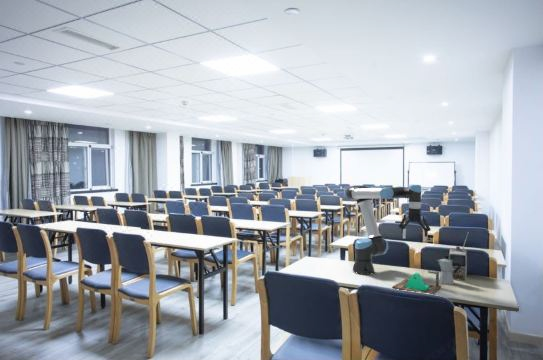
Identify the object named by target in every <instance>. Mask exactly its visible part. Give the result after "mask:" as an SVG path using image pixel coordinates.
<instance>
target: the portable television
mask: <svg viewBox="0 0 543 360" xmlns="http://www.w3.org/2000/svg"><path fill="white" fill-rule="evenodd" d="M468 235H469V231H468V232H467V234H466V238H465V240H464V243H463V247H462V248H461V247H460V246H458V245H457V246H456V247H455V248H453V247H452V248H450V249H449V254H448V259H450V260H453V261H456V262H458V263H459V264H460V266H461V267H460V268H459V269H458V271H457V272H456V274H455V273H454V272H455V270H456V269H457V268H458V265H457V266H453V270H452V272H451V273H452V275H453V280H456V279H459V280H458V281H464V280H465V281H467V276H468V275H467V274H468V271H467V270H468V256H467V254H468V253H467V250H466V249H465V248H464V247H465V245H466V241H467V237H468Z"/></svg>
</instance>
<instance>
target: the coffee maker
mask: <svg viewBox="0 0 543 360" xmlns="http://www.w3.org/2000/svg"><path fill="white" fill-rule="evenodd" d="M436 261H437V262H438V265H439V266H440V267H439V268H440V273H439V283H440V284H443V285H454V283H455V282H454V279H453V275H452V273H451V272H452V270H453V266H457V265H458V268H457V269H456V270H455V272H454V273H455V274H456V272H457V271H458V269H459V268H460V267H461V266H460V264H459V263H458V262H456V261H453V260H450V259H449V254H445V255H444V258H441V259H437V260H436Z"/></svg>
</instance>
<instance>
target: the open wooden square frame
mask: <svg viewBox="0 0 543 360" xmlns="http://www.w3.org/2000/svg"><path fill="white" fill-rule="evenodd" d="M439 272H440V271H431V270H430V271H429V270H428V271H427V273H428V274H433V275H435V284H433V283H427V282H423V283H424V284H425V285H429V289H428V290H426V291H423V290H420V291H419V290H414V289H412V288H408V287H406V283H407V282H408V281H409V279H408V278H405V279H404V280H401V281H400V282H398V283H396V284H394V285H392V286H391V289H393V288H395V289H394V290H397V289H400V290H399V291H402V290H407V291H414V292H421V293H429V294H431V295H433V294H435V292H437V291H439V290H440V289H441V285H440V284H439V283H440V282H439V279H440V273H439ZM407 291H406V292H407Z"/></svg>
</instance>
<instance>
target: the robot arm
mask: <svg viewBox="0 0 543 360" xmlns="http://www.w3.org/2000/svg"><path fill="white" fill-rule="evenodd" d="M345 197H346V198H347V200H349V201H351V202H356V204H357V206H359V207H360V211H361V215H362V219H363V223H364V226H365V230H366V233H367V237H366V238H365V237H364V238H360V239H359V238H358V239H357V240H356V241H355V243H354V245H355V246H354V249H355V250H354V252H355V253H354V255H355V257H354V259H355V260H354V263H353V266H352V272H353V271H354V272H357V273H362V274H361V275H372V274H371V273H373V274H375V267H374V265H373V257H376V256H382V255H385V254H386V253H387V252H388V250H389V242H388V241H387V240H386V239H385V238H384V237H383V235H382V234H380V231H379V227H378V224H377V220H376V216H375V213H374V212H375V211H374V209H373V206H372V202H373V199H378V200H379V199H380V200H381V199H384V200H390V199H408V214H406V213H405V214H403V218H402V220H401V222H400V224H399V226H398V228H399V229H401V234H402V239H406V238H407V237H406V235H407V233H406V232H407V226H408V225H409V224H410V223H418V224H419V226H420V227H421V229H423V233H422V236H423V237H422V242H424V243H425V242H427V237H428V233H429V232H430V231H431V227H430V224H429V223H428V221H427V217H426V215H422V209H421V207H422V185H420V184H409V186H408V187H407V186H406V187H405V186H396V187H392V186H391V187H386V186H385V187H370V186H368V185H351V186H348V187H347V188H346V189H345ZM406 220H407V221H406ZM405 221H406V222H405ZM354 272H353V273H354ZM357 273H356V274H357Z"/></svg>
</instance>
